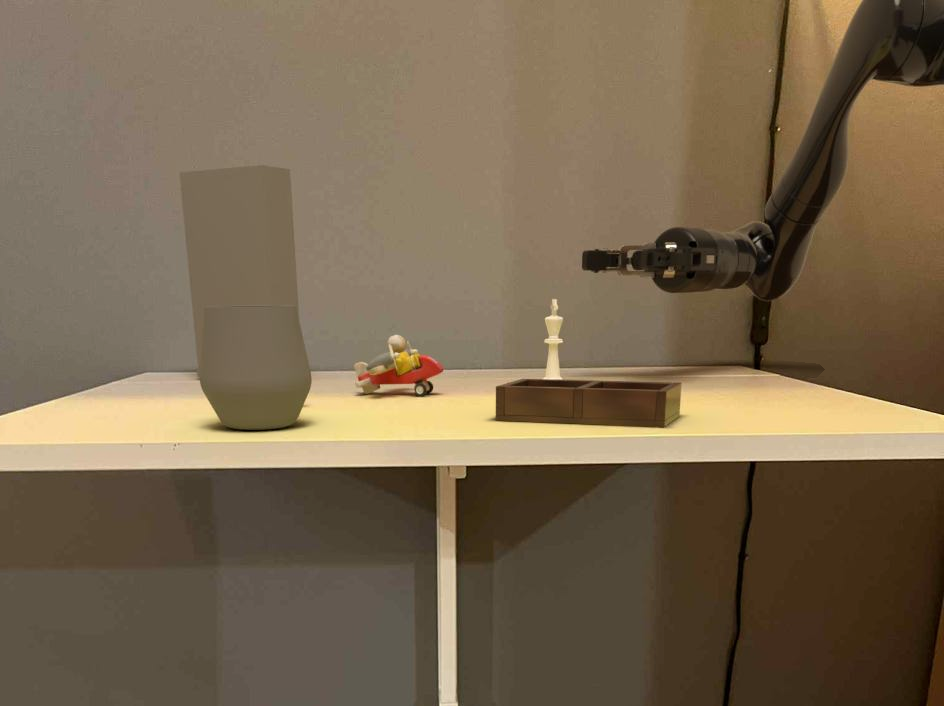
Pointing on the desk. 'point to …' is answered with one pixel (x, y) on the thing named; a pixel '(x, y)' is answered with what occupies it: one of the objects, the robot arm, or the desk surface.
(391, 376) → the toy airplane
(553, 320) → the chess piece
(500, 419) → the divided tray
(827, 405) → the desk surface
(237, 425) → the cup
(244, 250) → the khaki block
